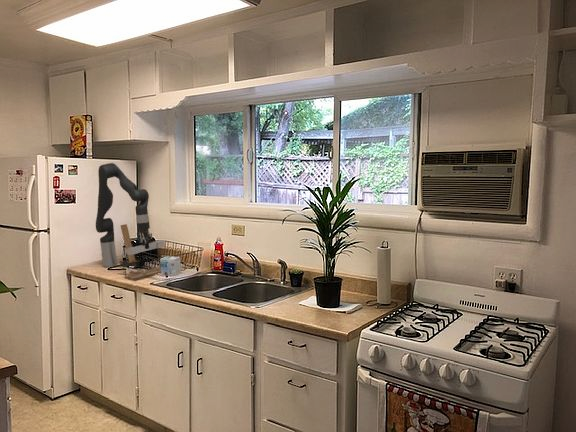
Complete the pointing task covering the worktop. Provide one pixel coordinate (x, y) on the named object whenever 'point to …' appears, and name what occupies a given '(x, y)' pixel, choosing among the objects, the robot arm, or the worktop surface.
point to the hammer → (128, 244)
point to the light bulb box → (170, 266)
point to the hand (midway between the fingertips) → (145, 248)
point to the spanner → (142, 247)
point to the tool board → (140, 276)
